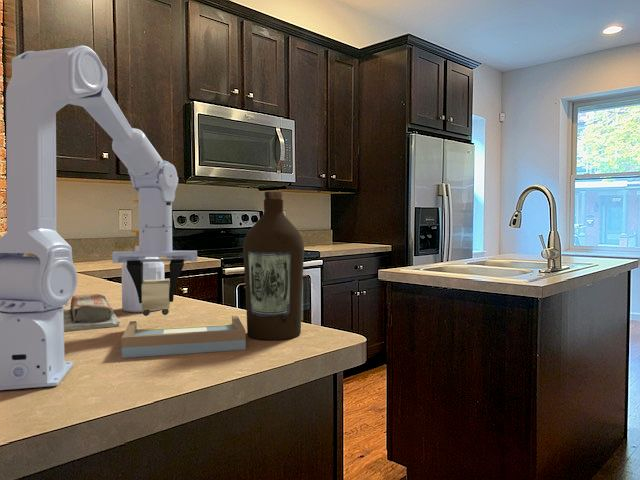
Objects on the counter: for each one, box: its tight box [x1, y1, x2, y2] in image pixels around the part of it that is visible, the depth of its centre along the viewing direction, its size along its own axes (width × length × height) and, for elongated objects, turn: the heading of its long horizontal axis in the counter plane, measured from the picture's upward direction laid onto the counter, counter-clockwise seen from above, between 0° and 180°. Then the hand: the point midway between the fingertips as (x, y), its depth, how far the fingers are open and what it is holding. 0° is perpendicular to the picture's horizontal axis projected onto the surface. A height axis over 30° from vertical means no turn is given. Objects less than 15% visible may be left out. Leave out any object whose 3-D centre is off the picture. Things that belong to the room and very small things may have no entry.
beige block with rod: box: [142, 278, 171, 317], centre depth 91 cm, size 8×4×6 cm, turn 15°
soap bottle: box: [120, 199, 165, 313], centre depth 112 cm, size 9×9×25 cm
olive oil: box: [242, 191, 305, 341], centre depth 87 cm, size 11×11×25 cm
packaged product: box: [63, 293, 121, 332], centre depth 100 cm, size 18×5×10 cm
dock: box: [121, 315, 247, 359], centre depth 81 cm, size 12×18×3 cm, turn 105°
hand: (156, 301), depth 91 cm, fingers closed on beige block with rod, 4 cm apart
